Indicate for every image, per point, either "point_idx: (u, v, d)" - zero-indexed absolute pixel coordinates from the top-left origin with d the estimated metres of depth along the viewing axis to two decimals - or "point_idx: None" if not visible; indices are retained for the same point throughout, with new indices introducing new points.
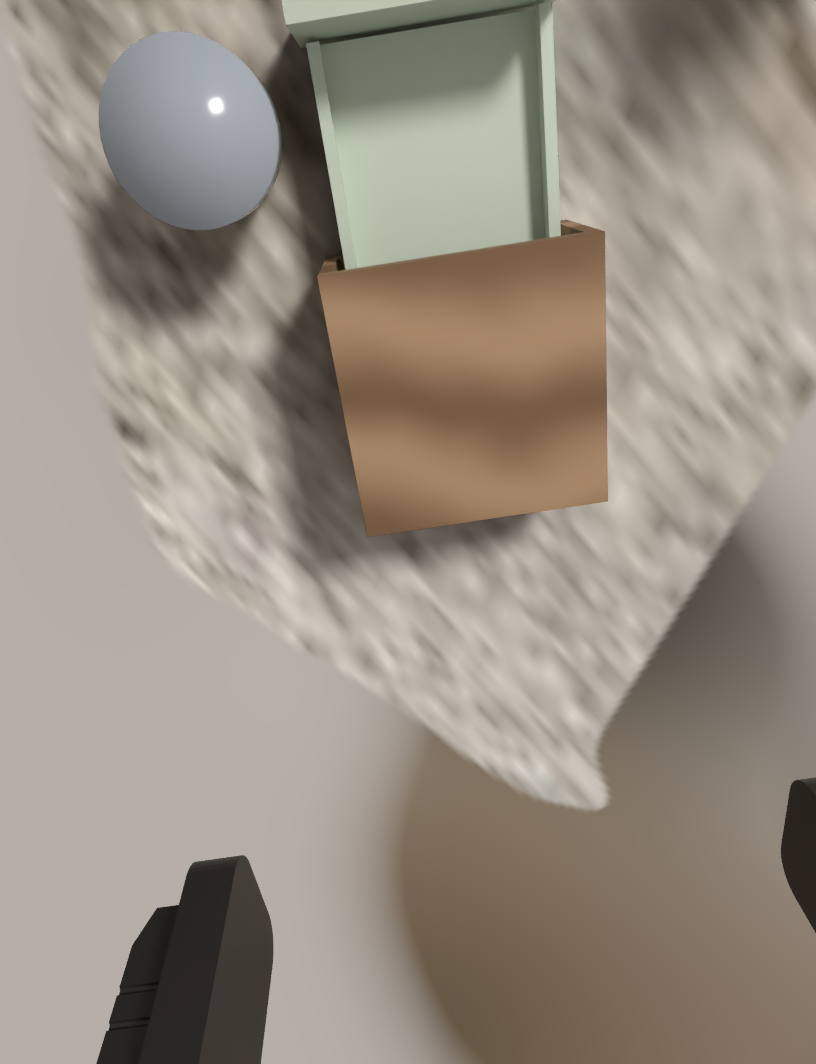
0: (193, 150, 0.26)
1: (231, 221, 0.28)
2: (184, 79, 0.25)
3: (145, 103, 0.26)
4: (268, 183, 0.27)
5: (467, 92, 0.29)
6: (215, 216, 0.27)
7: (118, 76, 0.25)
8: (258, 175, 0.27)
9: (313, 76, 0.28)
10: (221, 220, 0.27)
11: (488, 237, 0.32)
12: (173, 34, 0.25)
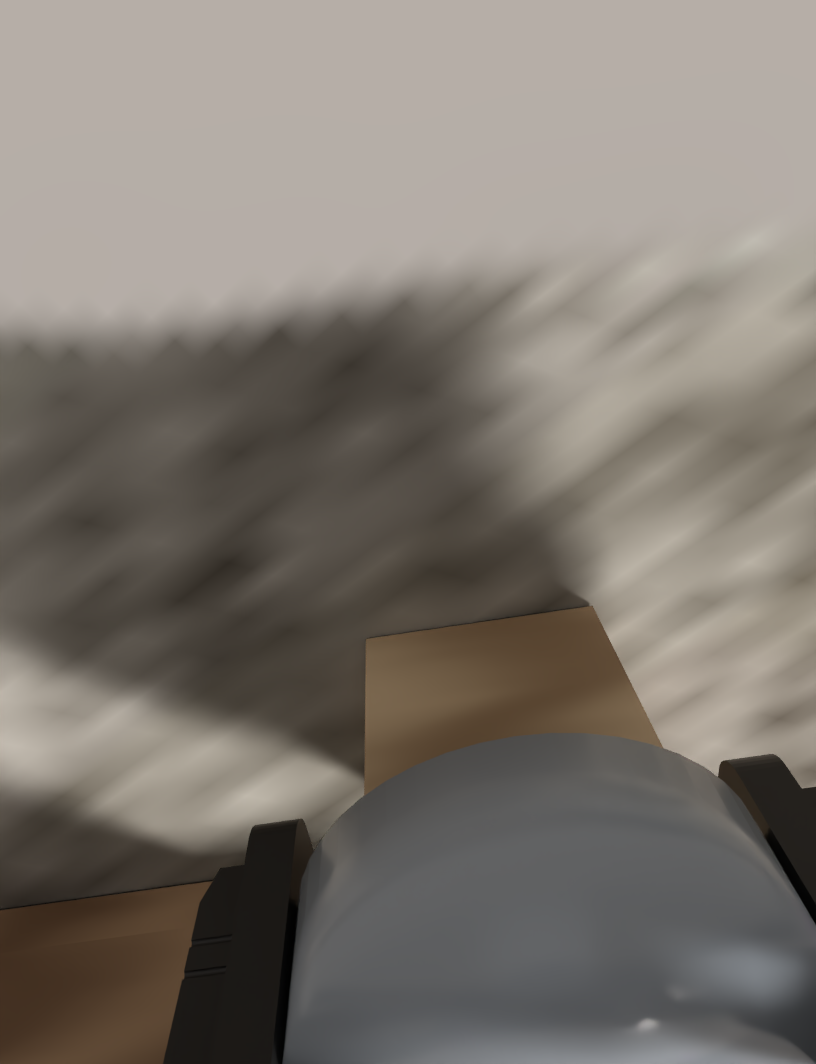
0: None
1: None
2: None
3: (679, 996, 0.07)
4: None
5: None
6: None
7: (774, 945, 0.07)
8: None
9: None
10: None
11: None
12: None
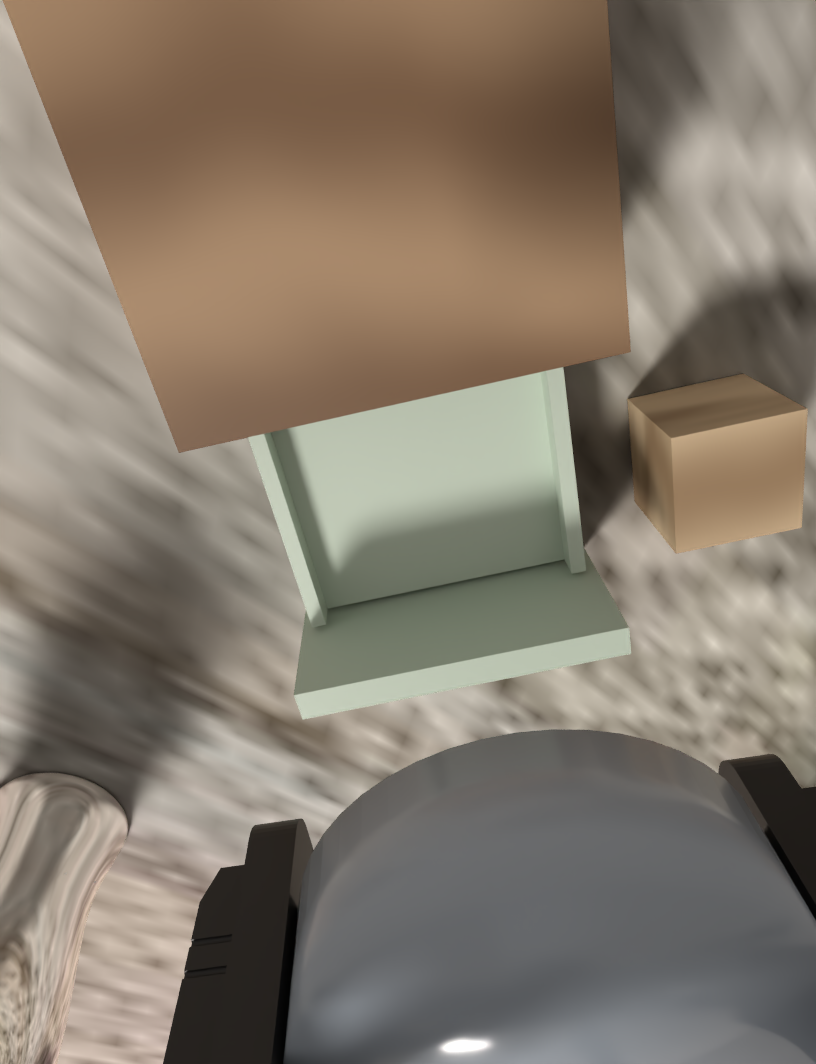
0: None
1: None
2: None
3: (680, 992, 0.07)
4: None
5: (391, 533, 0.24)
6: None
7: (775, 941, 0.07)
8: None
9: (580, 543, 0.24)
10: None
11: None
12: None
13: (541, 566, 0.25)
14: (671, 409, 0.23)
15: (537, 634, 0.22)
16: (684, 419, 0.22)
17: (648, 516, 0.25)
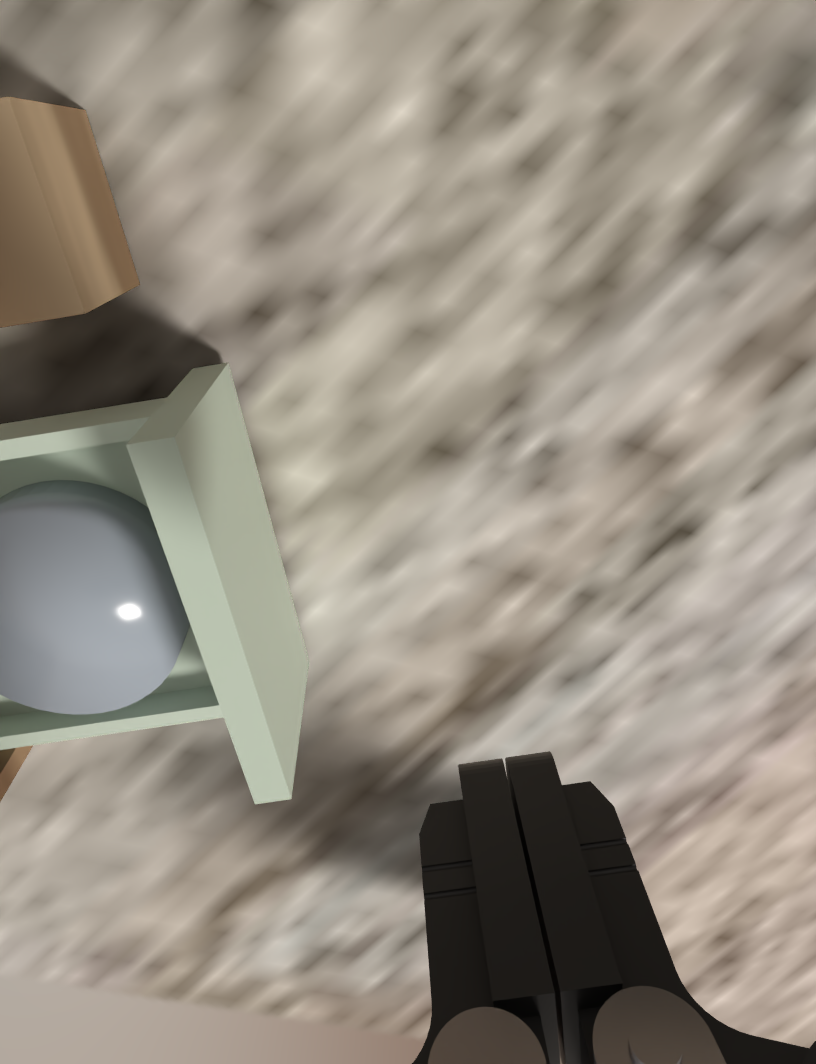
0: (66, 635, 0.19)
1: (127, 704, 0.20)
2: (45, 562, 0.18)
3: None
4: (175, 661, 0.20)
5: None
6: (105, 699, 0.20)
7: None
8: (160, 656, 0.19)
9: (120, 424, 0.17)
10: (113, 703, 0.20)
11: None
12: (23, 515, 0.17)
13: None
14: None
15: None
16: None
17: None
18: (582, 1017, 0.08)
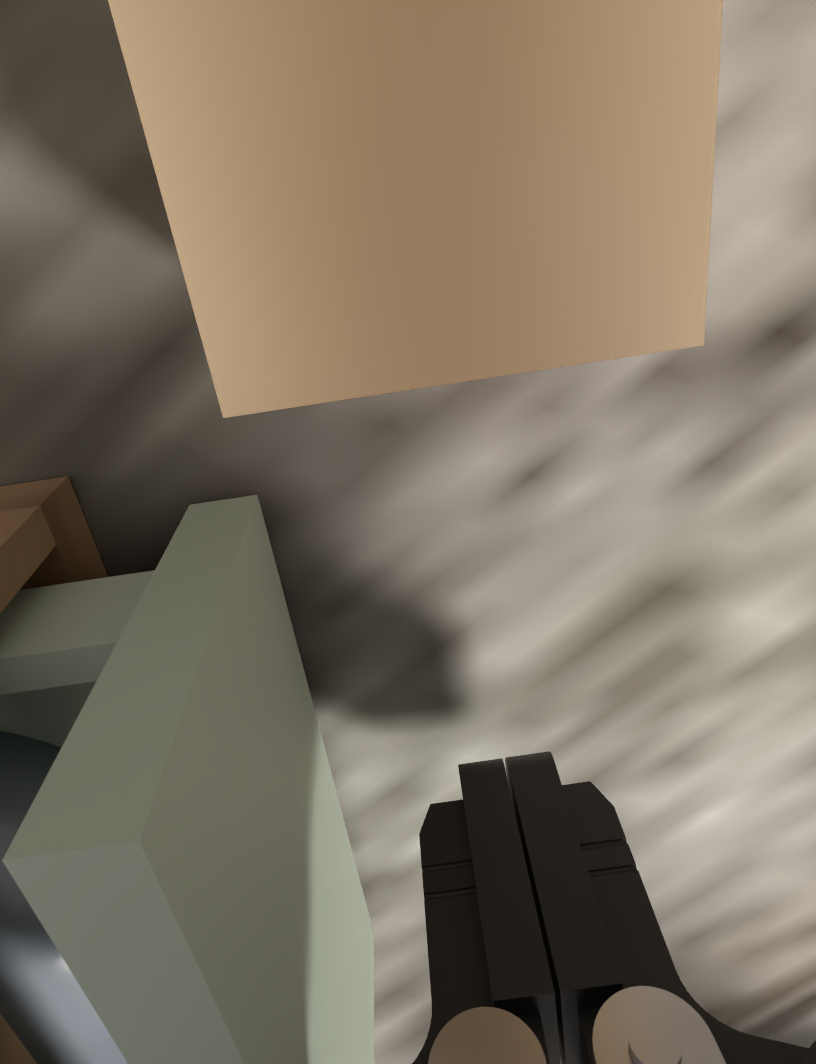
0: None
1: None
2: None
3: None
4: None
5: None
6: None
7: None
8: None
9: (36, 658, 0.08)
10: None
11: None
12: None
13: None
14: None
15: None
16: None
17: None
18: (582, 1017, 0.08)
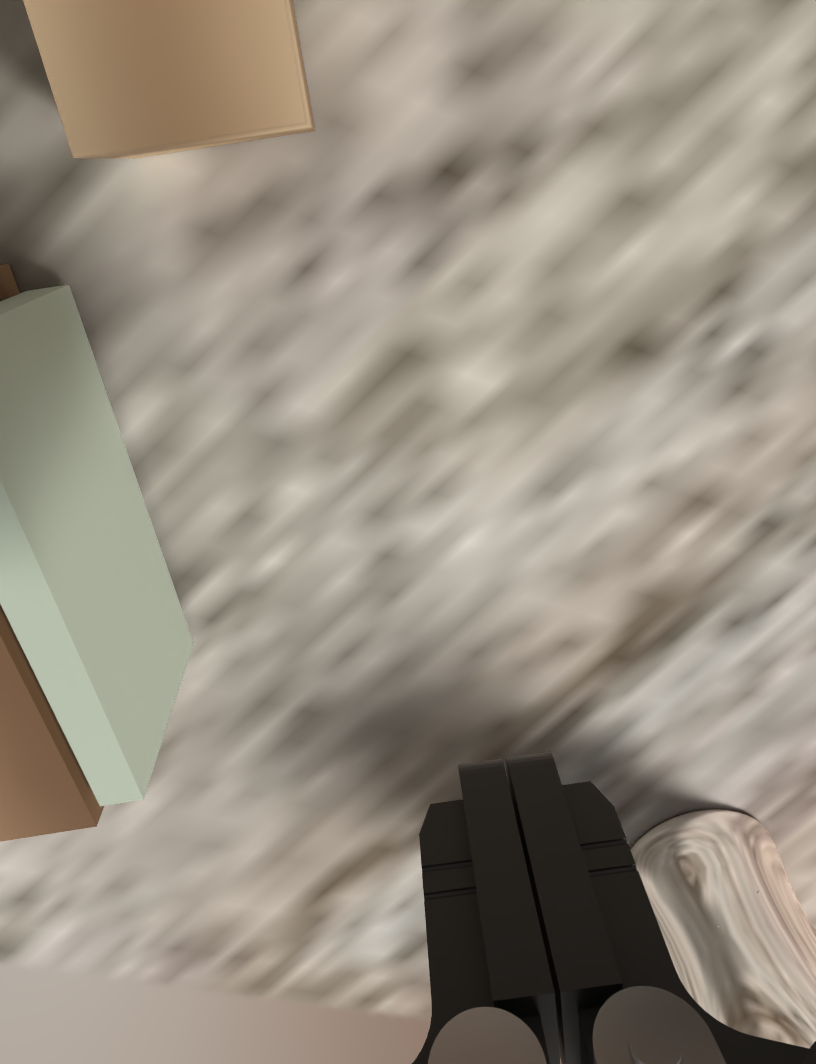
0: None
1: None
2: None
3: None
4: None
5: None
6: None
7: None
8: None
9: None
10: None
11: None
12: None
13: None
14: None
15: None
16: None
17: (307, 128, 0.14)
18: (582, 1017, 0.08)
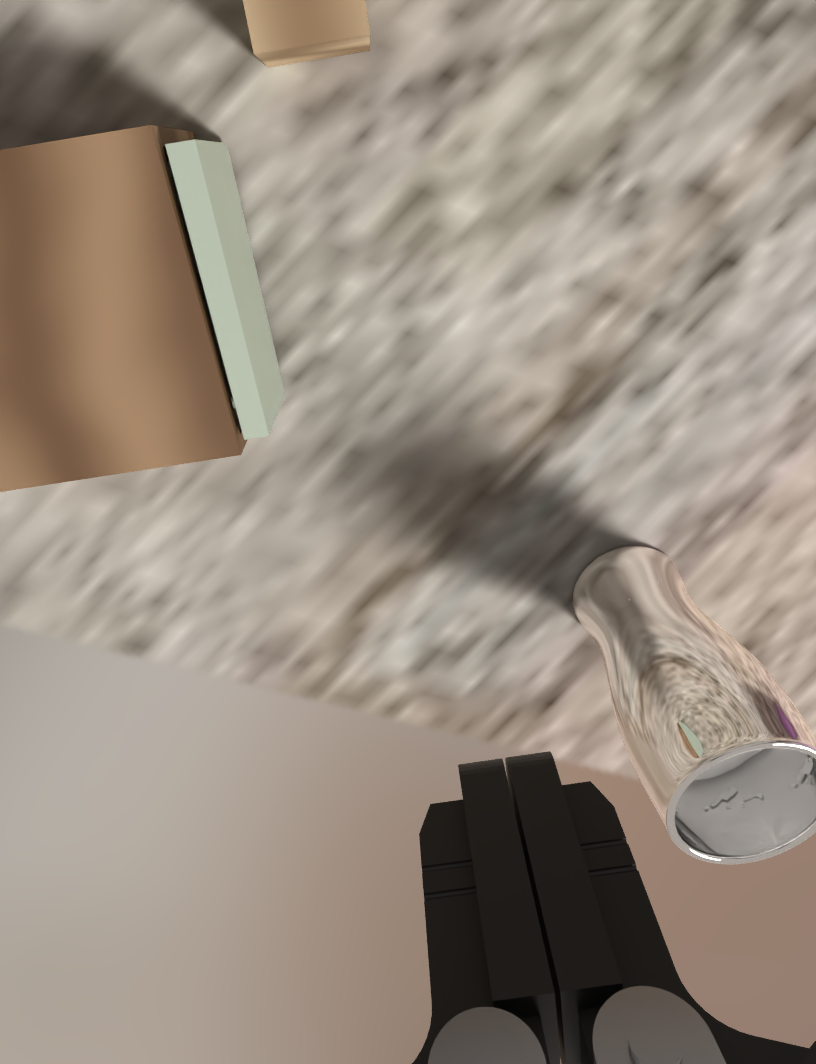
0: None
1: None
2: None
3: None
4: None
5: None
6: None
7: None
8: None
9: None
10: None
11: None
12: None
13: None
14: None
15: None
16: None
17: (367, 45, 0.26)
18: (582, 1017, 0.08)
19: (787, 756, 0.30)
